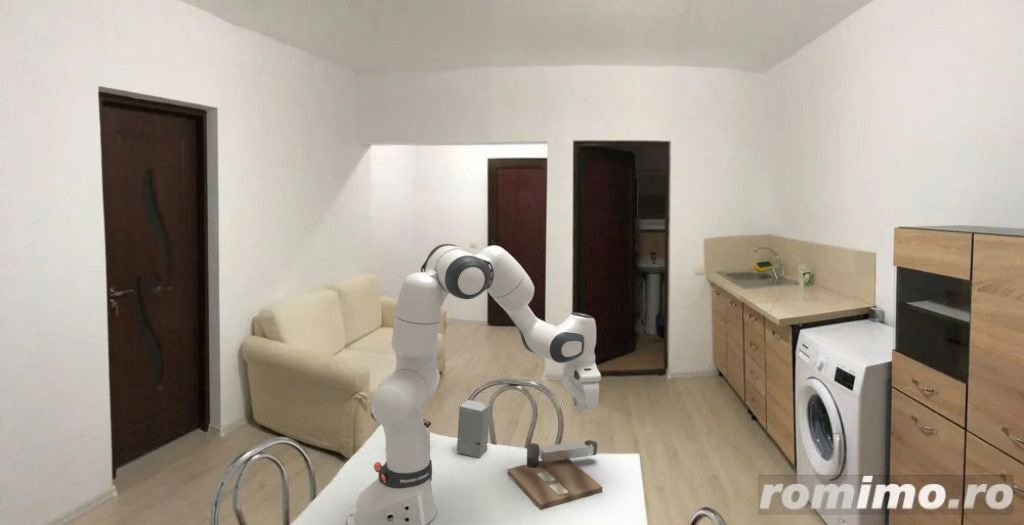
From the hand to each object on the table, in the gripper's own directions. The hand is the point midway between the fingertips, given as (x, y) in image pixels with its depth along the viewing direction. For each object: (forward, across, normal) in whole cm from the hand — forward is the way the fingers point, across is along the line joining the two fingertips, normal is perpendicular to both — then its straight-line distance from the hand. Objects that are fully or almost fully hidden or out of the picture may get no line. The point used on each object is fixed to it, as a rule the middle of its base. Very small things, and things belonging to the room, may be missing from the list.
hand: (577, 411), depth 161 cm
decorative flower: (+19, -24, -48) cm, 57 cm away
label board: (+19, +6, -9) cm, 21 cm away
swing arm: (+16, -3, -1) cm, 16 cm away
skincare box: (+19, -18, -28) cm, 38 cm away
